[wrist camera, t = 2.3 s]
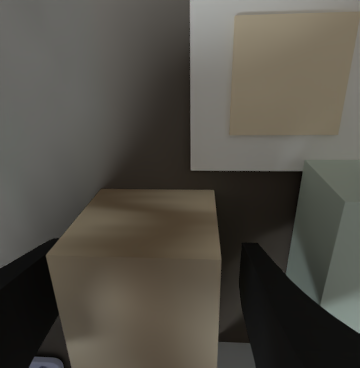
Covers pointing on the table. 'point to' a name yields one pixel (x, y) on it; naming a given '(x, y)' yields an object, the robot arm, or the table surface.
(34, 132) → the table surface
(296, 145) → the card
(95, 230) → the maple cube
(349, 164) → the base block
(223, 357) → the grey cube
